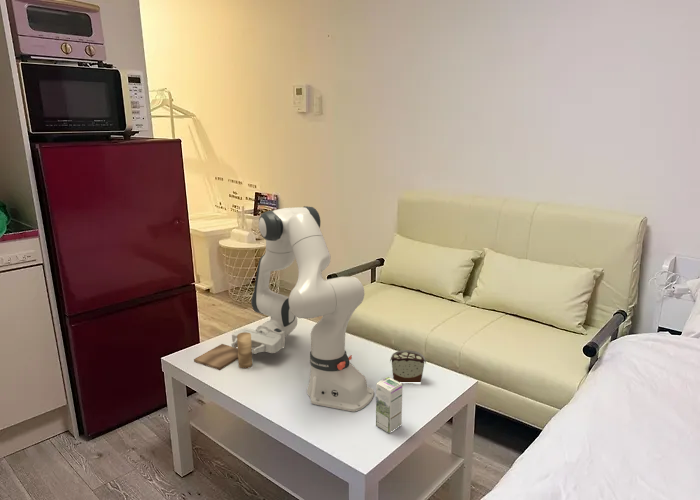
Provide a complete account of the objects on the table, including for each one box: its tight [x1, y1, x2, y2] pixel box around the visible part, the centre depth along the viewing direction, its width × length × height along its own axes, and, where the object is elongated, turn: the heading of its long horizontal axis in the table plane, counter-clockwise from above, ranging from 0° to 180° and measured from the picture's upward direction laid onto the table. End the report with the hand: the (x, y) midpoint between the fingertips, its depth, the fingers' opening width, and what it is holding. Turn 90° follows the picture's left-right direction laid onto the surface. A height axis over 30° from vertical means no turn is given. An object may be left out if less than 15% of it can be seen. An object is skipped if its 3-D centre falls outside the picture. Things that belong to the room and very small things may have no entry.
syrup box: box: [375, 376, 403, 434], centre depth 149 cm, size 6×6×14 cm
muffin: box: [389, 349, 427, 383], centre depth 176 cm, size 12×6×10 cm, turn 84°
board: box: [193, 343, 238, 371], centre depth 192 cm, size 13×15×1 cm
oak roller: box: [237, 332, 253, 369], centre depth 185 cm, size 5×5×12 cm
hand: (242, 348), depth 184 cm, fingers open, 8 cm apart
